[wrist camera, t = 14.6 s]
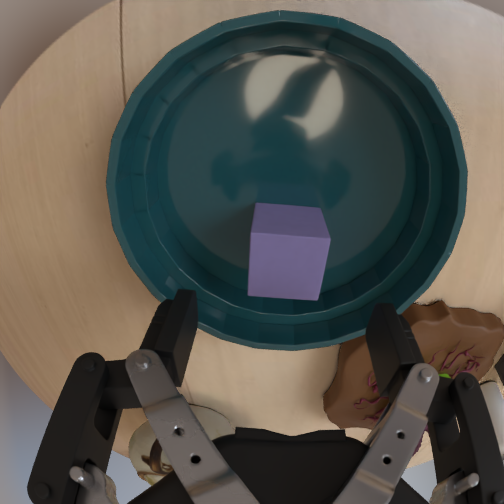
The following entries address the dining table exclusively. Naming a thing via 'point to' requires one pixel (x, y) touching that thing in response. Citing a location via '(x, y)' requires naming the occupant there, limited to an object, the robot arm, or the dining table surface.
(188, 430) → the robot arm
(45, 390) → the dining table surface
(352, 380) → the plant
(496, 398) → the can
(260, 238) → the lavender foam cube
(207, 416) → the sugar bowl
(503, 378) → the bin
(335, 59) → the bowl
